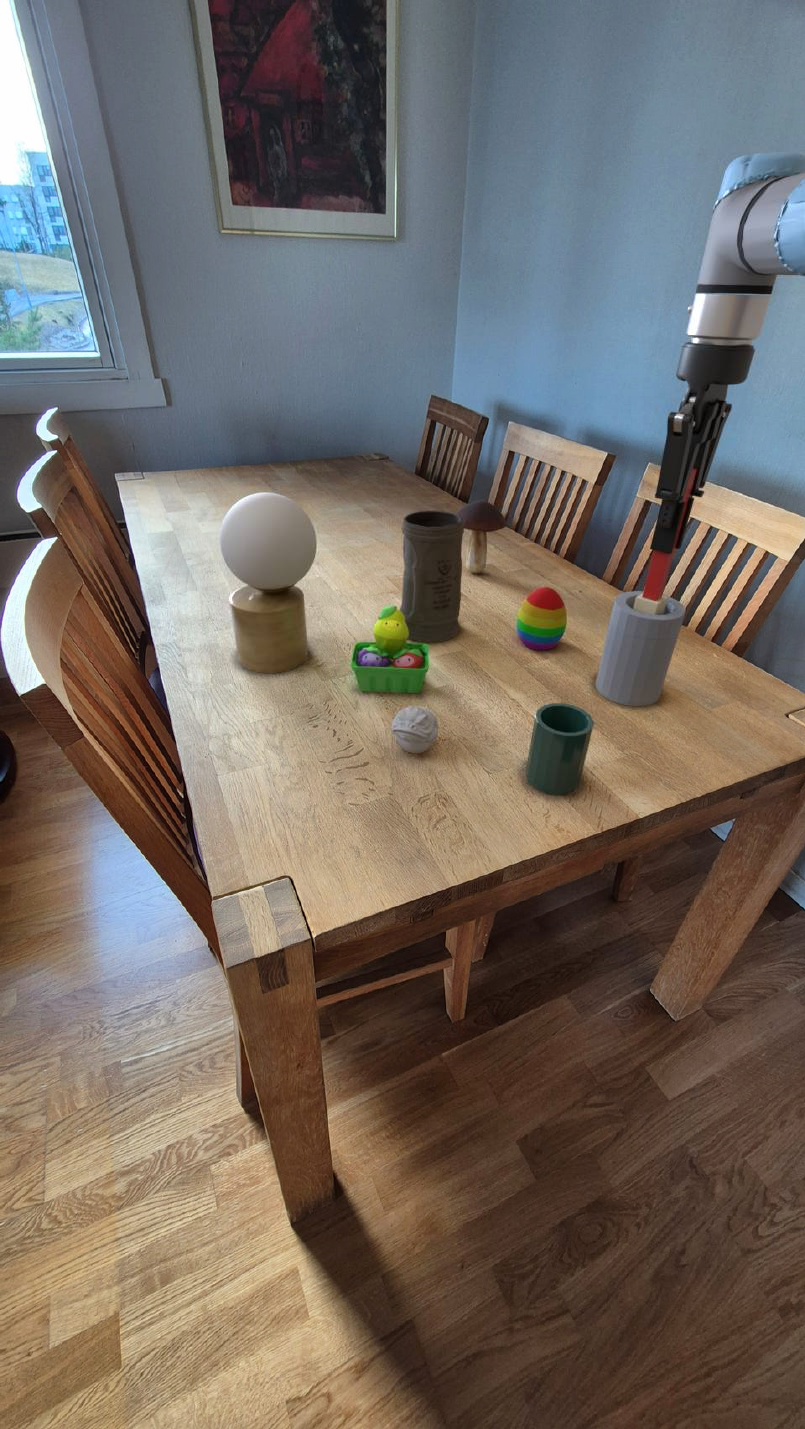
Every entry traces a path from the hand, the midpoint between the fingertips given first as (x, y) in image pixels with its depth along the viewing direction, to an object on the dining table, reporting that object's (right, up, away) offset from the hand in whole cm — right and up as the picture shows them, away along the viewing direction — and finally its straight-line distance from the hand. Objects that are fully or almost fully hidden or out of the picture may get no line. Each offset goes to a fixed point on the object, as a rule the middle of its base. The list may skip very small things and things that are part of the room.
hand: (665, 548), depth 83 cm
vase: (0, -18, +13) cm, 22 cm away
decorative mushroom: (-19, +8, +50) cm, 54 cm away
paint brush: (0, -10, +7) cm, 12 cm away
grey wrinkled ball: (-33, -27, -1) cm, 43 cm away
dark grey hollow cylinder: (-31, -6, +30) cm, 44 cm away
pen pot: (-16, -30, -5) cm, 34 cm away
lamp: (-55, -12, +21) cm, 60 cm away
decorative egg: (-11, -10, +25) cm, 29 cm away
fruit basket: (-36, -17, +13) cm, 43 cm away
